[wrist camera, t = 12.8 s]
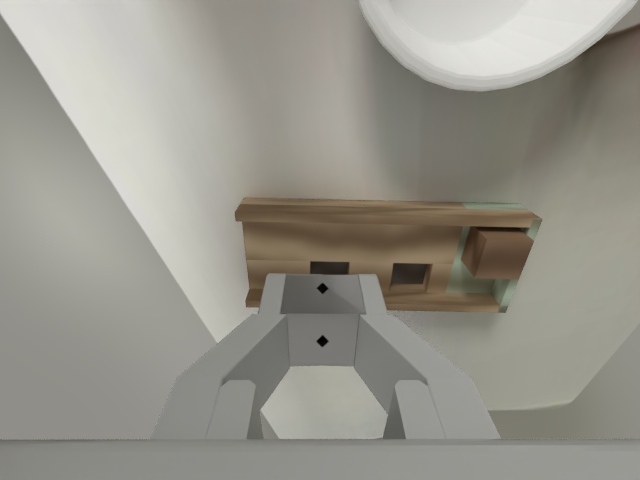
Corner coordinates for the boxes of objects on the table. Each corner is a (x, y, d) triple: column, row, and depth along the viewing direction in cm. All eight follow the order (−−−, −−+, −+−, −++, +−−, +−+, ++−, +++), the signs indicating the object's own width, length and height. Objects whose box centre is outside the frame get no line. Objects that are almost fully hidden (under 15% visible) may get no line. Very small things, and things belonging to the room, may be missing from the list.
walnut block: (471, 223, 36) (487, 239, 33) (513, 224, 36) (534, 240, 33) (460, 259, 39) (474, 278, 35) (500, 260, 39) (518, 279, 35)
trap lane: (244, 197, 37) (234, 212, 33) (519, 203, 37) (542, 219, 33) (253, 285, 43) (246, 307, 39) (488, 290, 43) (505, 312, 39)
